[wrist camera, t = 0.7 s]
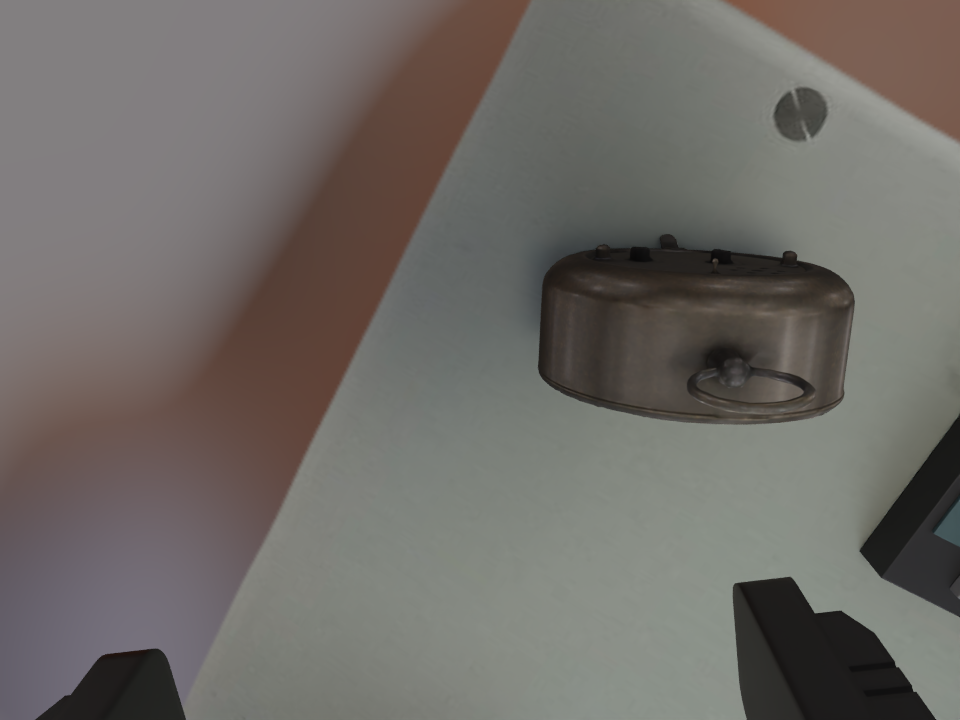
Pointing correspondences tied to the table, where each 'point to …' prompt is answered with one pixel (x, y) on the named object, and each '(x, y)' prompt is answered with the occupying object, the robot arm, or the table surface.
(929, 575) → the scale
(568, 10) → the table surface
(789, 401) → the alarm clock
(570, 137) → the table surface
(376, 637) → the table surface
